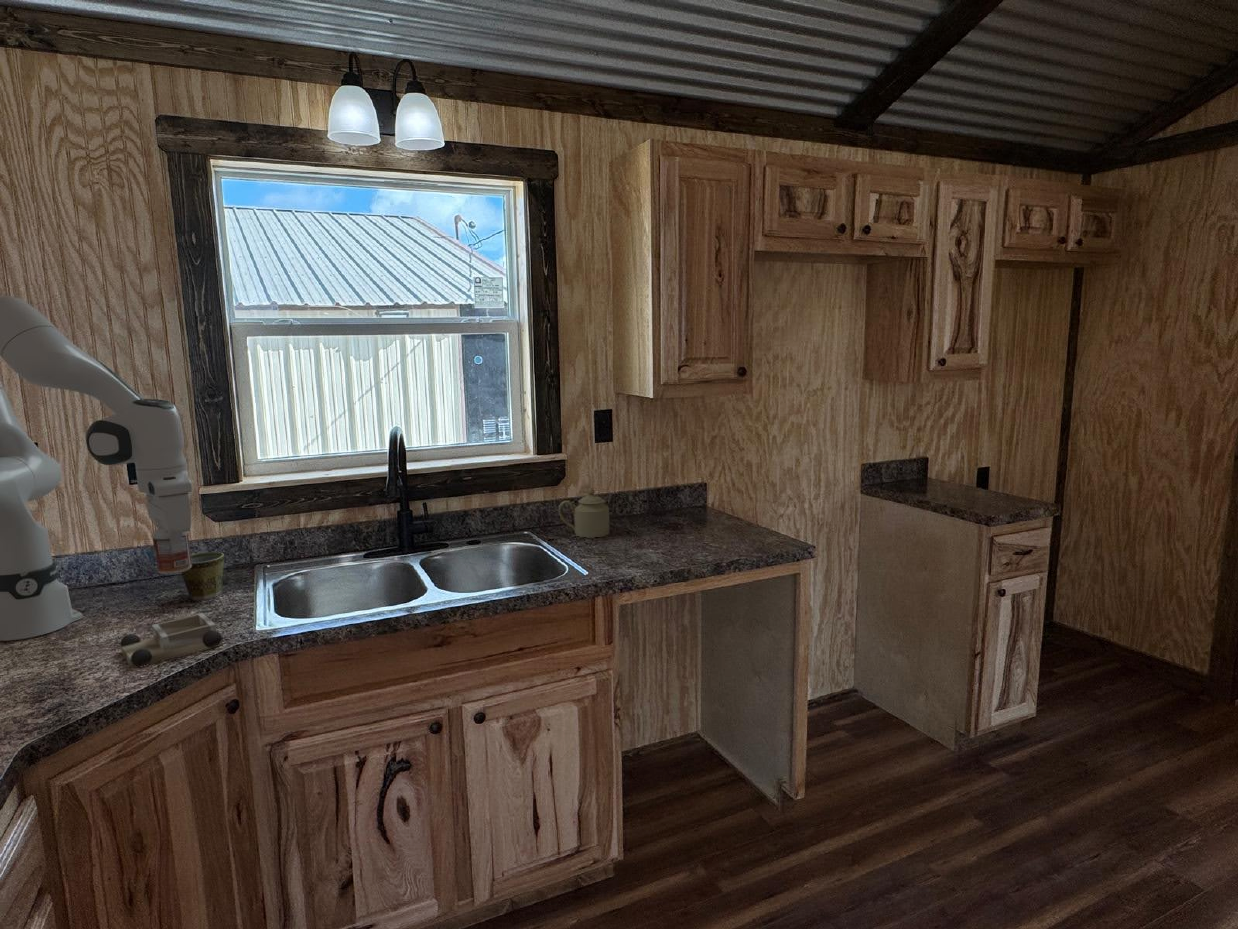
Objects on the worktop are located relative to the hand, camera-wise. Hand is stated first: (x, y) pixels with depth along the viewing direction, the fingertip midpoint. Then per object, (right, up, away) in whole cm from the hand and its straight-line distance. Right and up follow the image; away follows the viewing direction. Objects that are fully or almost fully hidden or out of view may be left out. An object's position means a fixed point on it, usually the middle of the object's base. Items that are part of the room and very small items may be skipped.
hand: (171, 547), depth 153 cm
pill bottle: (0, -5, +1) cm, 5 cm away
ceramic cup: (-13, -16, +35) cm, 41 cm away
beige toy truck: (-1, -21, +2) cm, 21 cm away
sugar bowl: (+81, -6, +84) cm, 117 cm away
